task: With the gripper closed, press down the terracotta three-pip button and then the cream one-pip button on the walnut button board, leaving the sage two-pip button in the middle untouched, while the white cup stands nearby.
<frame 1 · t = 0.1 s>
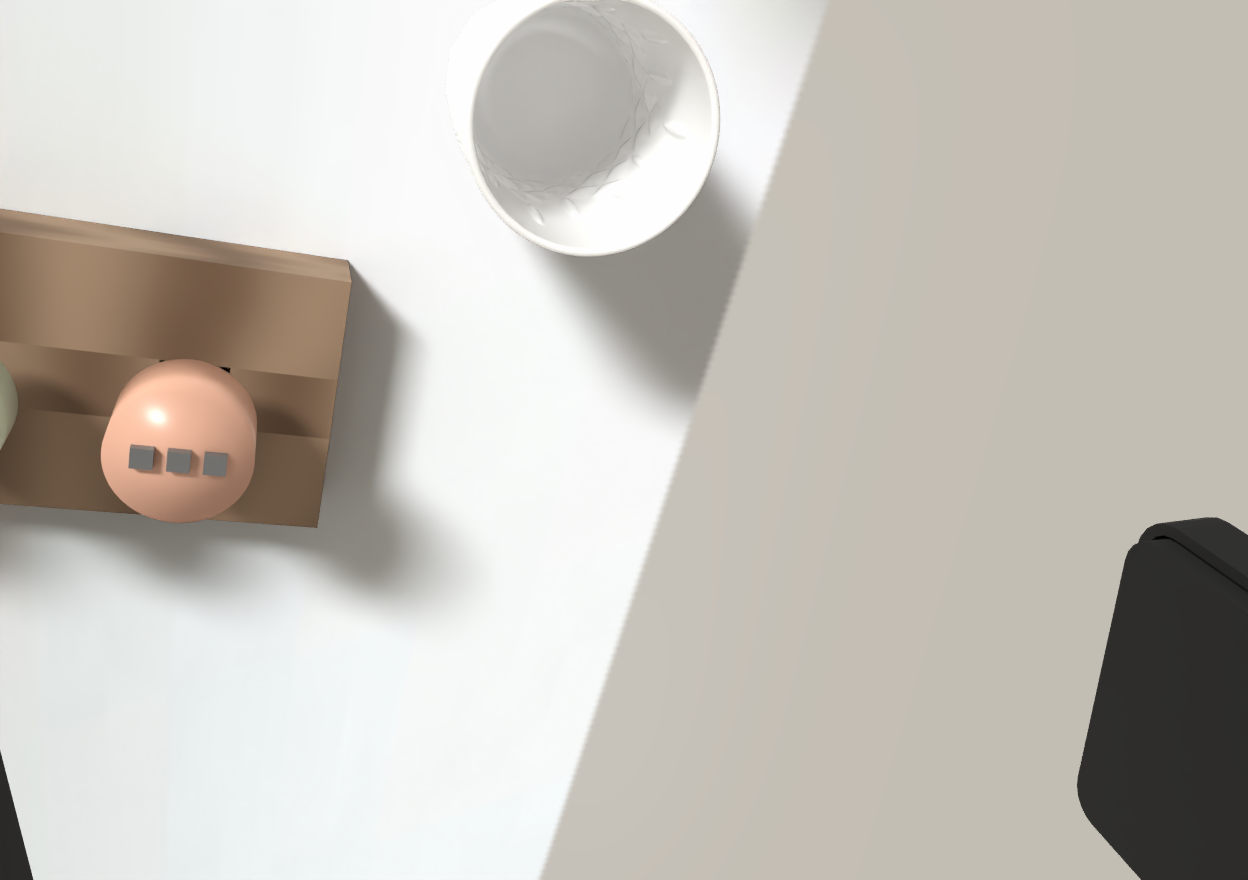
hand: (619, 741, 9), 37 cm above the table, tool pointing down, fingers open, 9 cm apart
plunger three: (186, 422, 40), point 6 cm above the table, slide at 0.0 cm
white cup: (533, 85, 44), on the table
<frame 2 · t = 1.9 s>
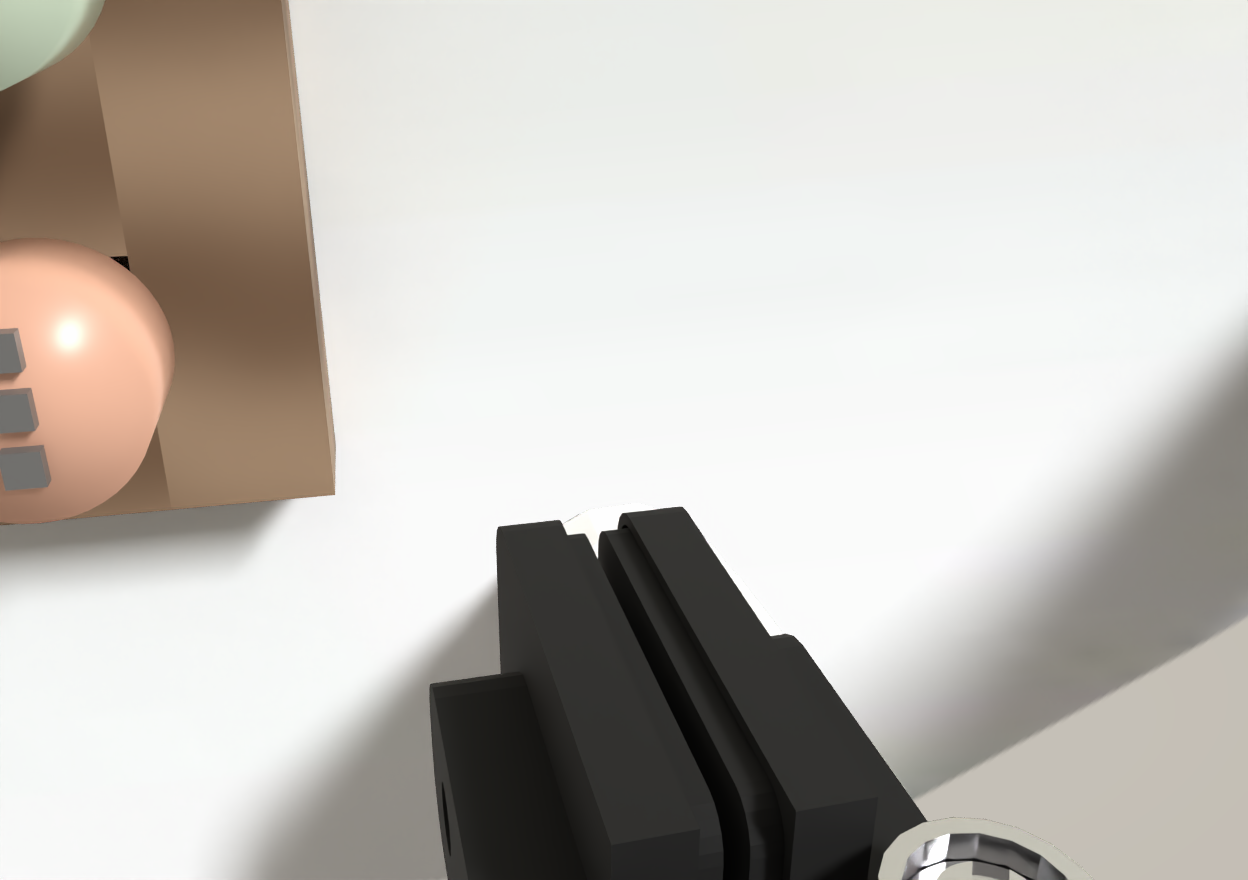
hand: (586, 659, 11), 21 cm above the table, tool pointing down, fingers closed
plunger three: (52, 351, 23), point 6 cm above the table, slide at 0.0 cm
white cup: (614, 596, 35), on the table
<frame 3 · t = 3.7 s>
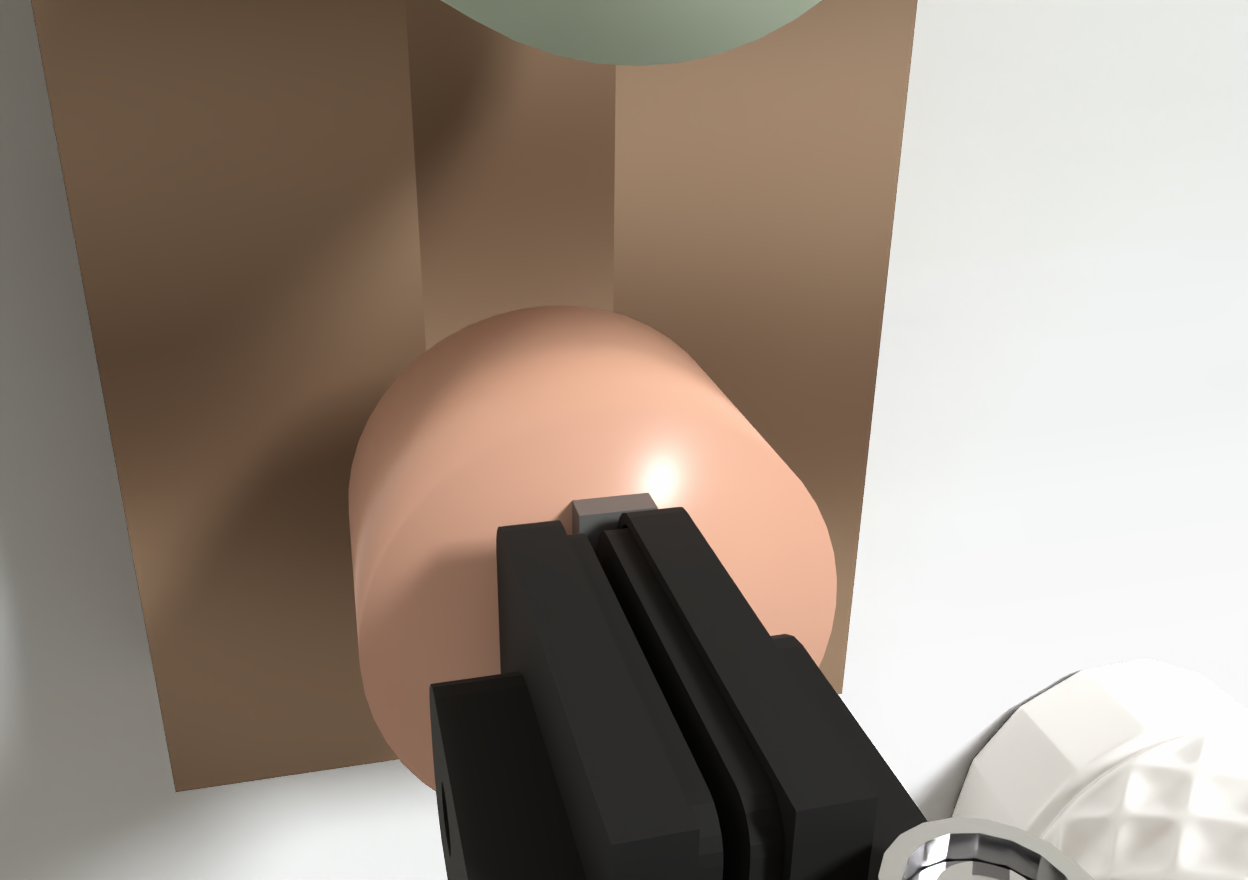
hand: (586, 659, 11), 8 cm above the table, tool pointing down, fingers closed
plunger three: (549, 494, 14), point 5 cm above the table, slide at 0.7 cm, touching gripper
white cup: (1083, 778, 25), on the table
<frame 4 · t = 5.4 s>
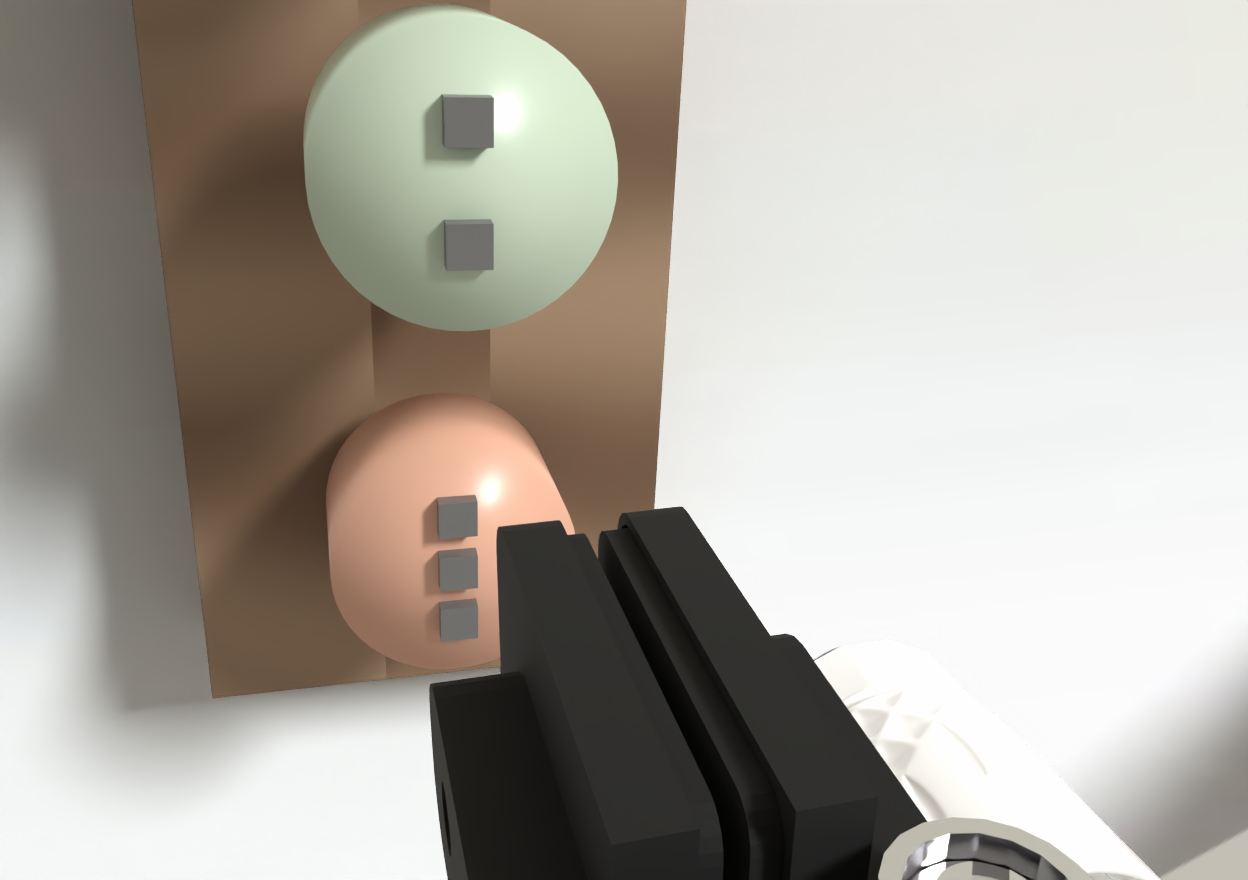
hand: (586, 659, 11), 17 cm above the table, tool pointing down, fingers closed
plunger three: (438, 495, 24), point 4 cm above the table, slide at 1.8 cm
button board: (412, 101, 25), on the table
plunger two: (443, 147, 20), point 6 cm above the table, slide at 0.0 cm
white cup: (849, 727, 35), on the table
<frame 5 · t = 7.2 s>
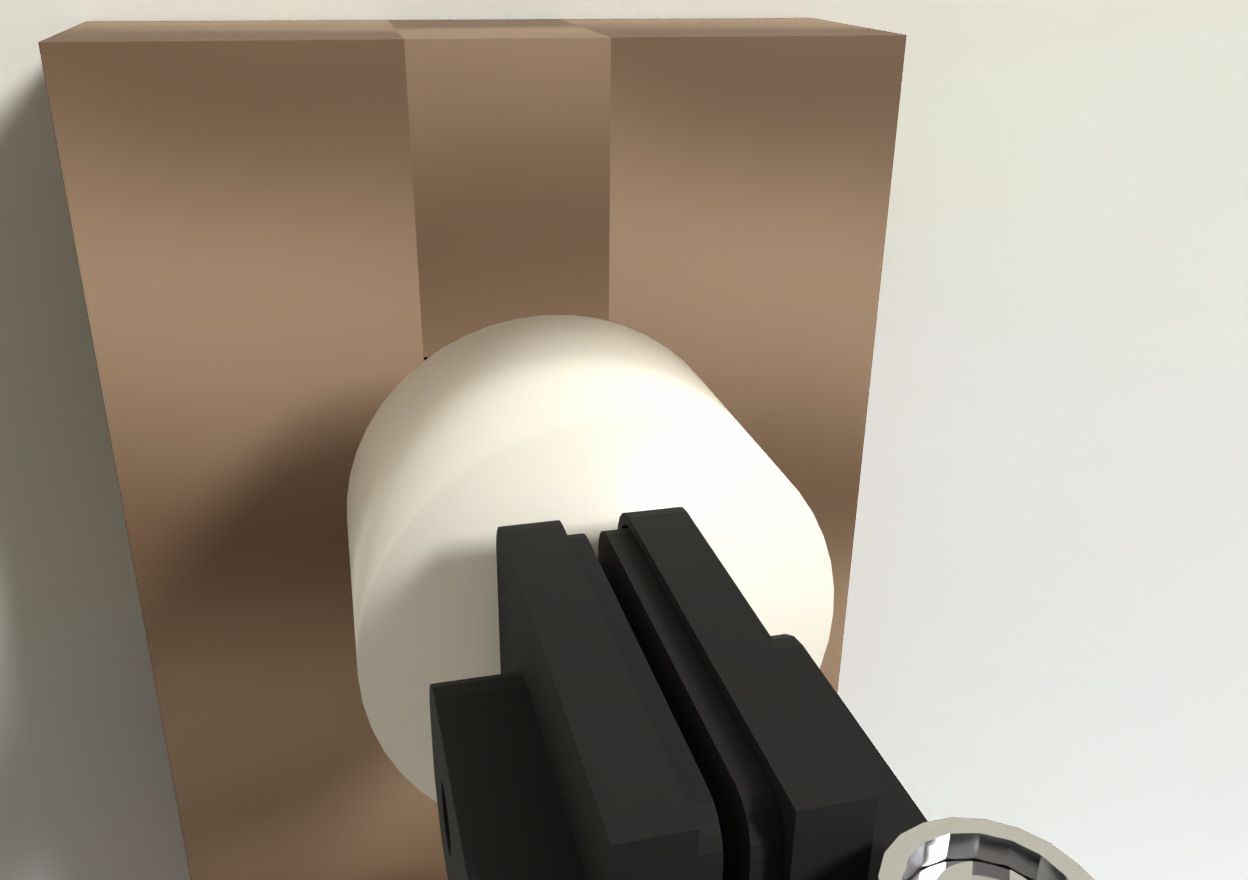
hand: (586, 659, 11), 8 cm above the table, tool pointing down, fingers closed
plunger one: (547, 502, 14), point 5 cm above the table, slide at 0.6 cm, touching gripper
button board: (502, 749, 21), on the table
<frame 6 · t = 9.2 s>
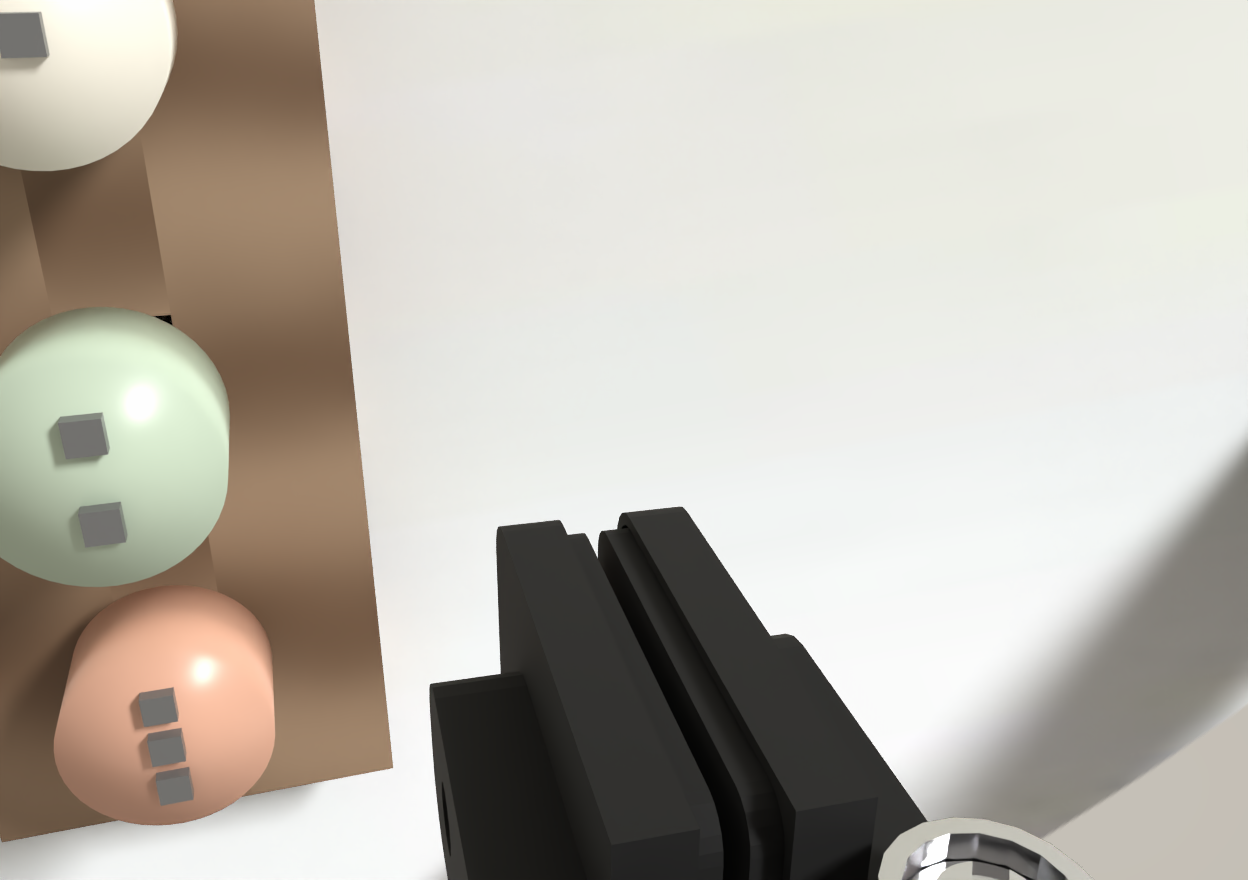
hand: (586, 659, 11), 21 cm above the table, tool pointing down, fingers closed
plunger one: (48, 19, 22), point 4 cm above the table, slide at 1.8 cm
plunger three: (174, 666, 28), point 4 cm above the table, slide at 1.8 cm
button board: (133, 328, 29), on the table
plunger two: (111, 414, 24), point 6 cm above the table, slide at 0.0 cm
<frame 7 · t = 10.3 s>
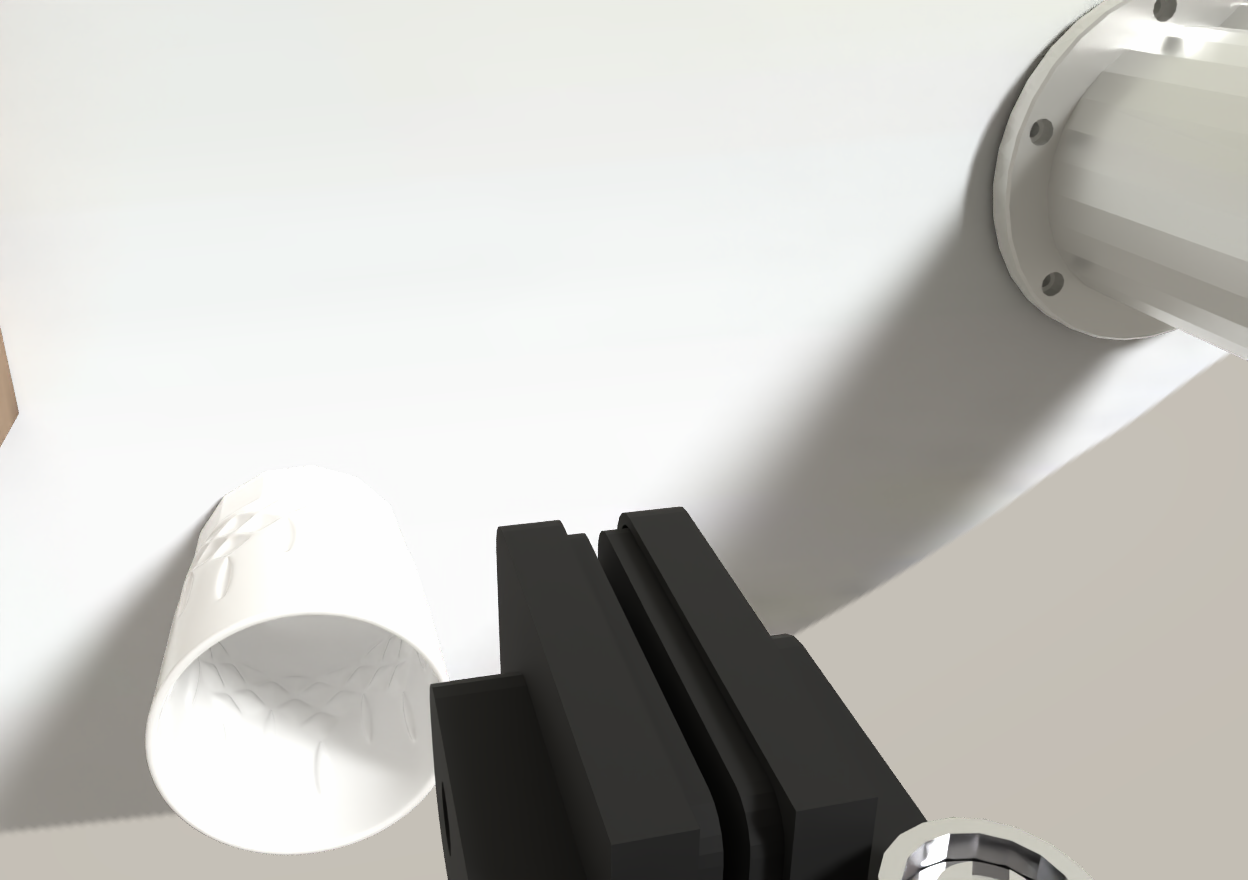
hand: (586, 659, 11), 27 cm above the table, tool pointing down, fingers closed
white cup: (303, 550, 39), on the table
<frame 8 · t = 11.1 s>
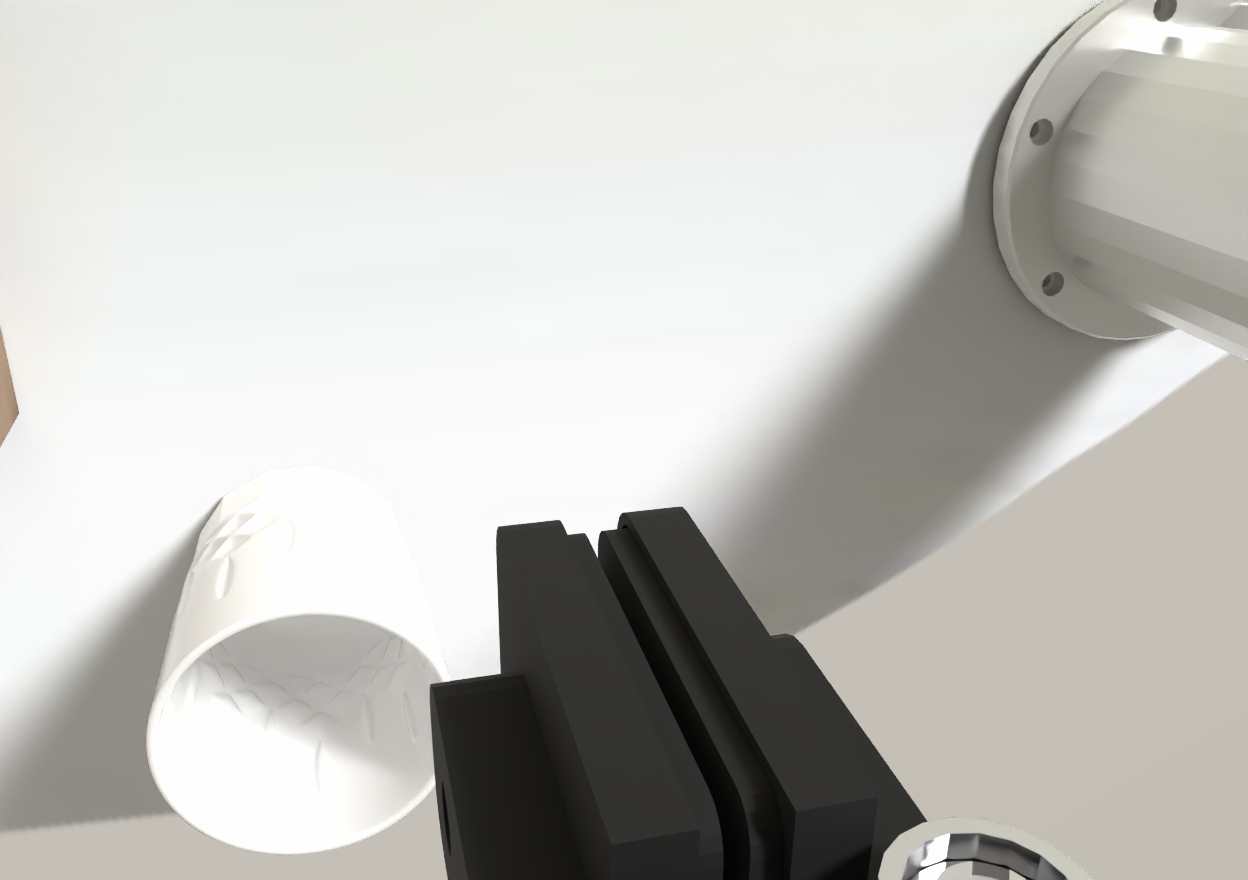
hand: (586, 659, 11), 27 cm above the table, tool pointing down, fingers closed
white cup: (303, 550, 39), on the table
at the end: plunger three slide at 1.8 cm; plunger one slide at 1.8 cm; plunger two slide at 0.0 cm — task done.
